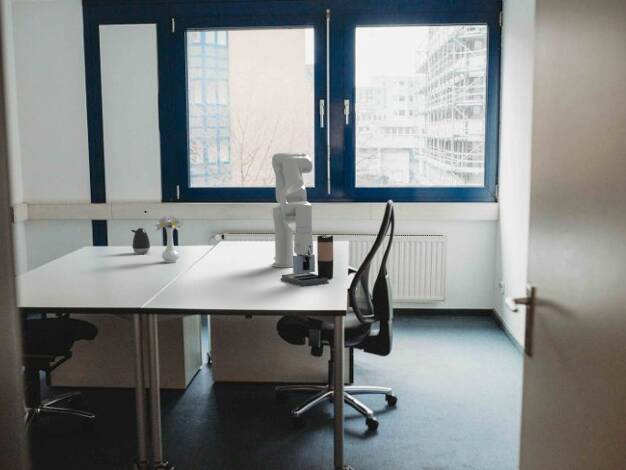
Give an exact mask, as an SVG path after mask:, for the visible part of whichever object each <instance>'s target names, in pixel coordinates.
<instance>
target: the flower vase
mask: <svg viewBox="0 0 626 470" xmlns="http://www.w3.org/2000/svg"><path fill="white" fill-rule="evenodd" d="M182 225H183V222H182V221H180V220H179V218H178V217H177V216H169V217H168V218H167V217H166V216H163V217H158V222H156V223H155V227H157V228H156V230H155V231H156V232H158V231H161V230H162V229H163V228H165V230H166V236H167V237H166V239H167V241H166V248H165V250H164V251H163V252H162V254H161V258H162V259H163V260H164V262H165V263H167V264H169V263H171V264H173V263H177V260H178V259H179V258H180V253H179V252H178V250H177V249H176V248H175V246H174V237H173V236H174V230H176V231H177V232H180V231H181V228H182V227H181V226H182Z"/></svg>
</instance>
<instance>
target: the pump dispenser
mask: <svg viewBox="0 0 626 470" xmlns="http://www.w3.org/2000/svg"><path fill="white" fill-rule="evenodd" d="M130 232H132V233H134V235H133V239H132V245H131V247H132V249H133V252H134V253H135V254H137V255H144V254H143V253H146V254H147V253H148V252H149V251H150V248H151V243H150V238H149V235H148V233H147V231H146V230H145V229H144V228H143V227H138V228H137V229H136V230H134V229H131V231H130Z"/></svg>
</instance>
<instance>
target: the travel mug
mask: <svg viewBox="0 0 626 470" xmlns="http://www.w3.org/2000/svg"><path fill="white" fill-rule="evenodd" d="M316 239H317V241H316V242H317V248H316V249H317V252H316V253H317V255H316V257H317V258H316V260H317V261H316V262H317V275H319V276H323V277H326V278H327V280H332V279H333V278H334V235H330V236H328V235H325V234H324V235H323V234H322V235H317V237H316Z"/></svg>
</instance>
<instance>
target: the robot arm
mask: <svg viewBox="0 0 626 470" xmlns="http://www.w3.org/2000/svg"><path fill="white" fill-rule="evenodd" d="M271 158H272V159H271V165H272V169H273V172H274V176H275V199H276V202H277V203H279V206H276V207H274V208H273V210H272V217H273V224H274V225H273V226H274V253H275V254H274V257H273V260H274V261H275V262H273V263H272V264H271V265H272V267H274V268H293V256H294V253H295V254H296V256H297V255H304V262H303V270H309V269H310V259H311V258H312V257H313V255H312V254H313V253H314V242H313V215H312V214H313V209H312V204H311V203H310V202H309V201H307V199H308V198H307V195H308V194H307V189H306V187H305V185H304V184H305V183H304V178H303V174H311V172H312V171H313V161H312V159H311V157H310V156H309V155H308V154H306V153H305V152H277V153H275V154H273V155H272V157H271ZM291 224H294V225H295V234H294V232H293V229H292V228H291V227H290V225H291ZM306 254H308V255H306ZM306 256H307V257H306Z"/></svg>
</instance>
